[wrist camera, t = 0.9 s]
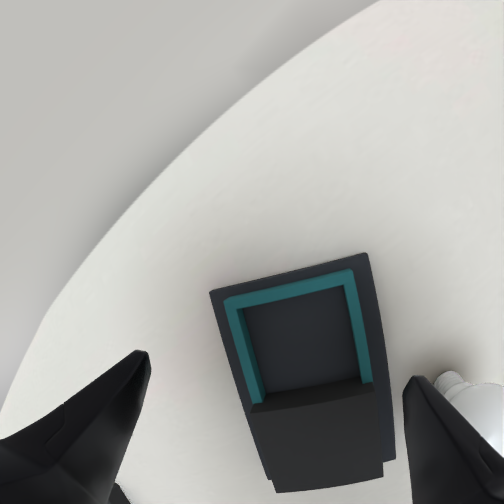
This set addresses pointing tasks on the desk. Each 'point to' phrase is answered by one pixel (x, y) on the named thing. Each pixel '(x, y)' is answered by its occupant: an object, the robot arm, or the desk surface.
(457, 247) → the desk surface
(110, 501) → the black block
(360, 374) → the black teal stepped tray
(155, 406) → the desk surface
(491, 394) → the lightbulb
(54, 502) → the robot arm
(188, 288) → the desk surface
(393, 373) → the desk surface
